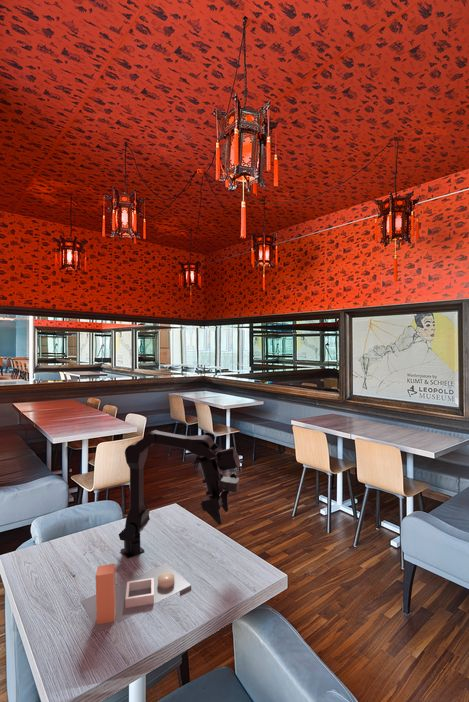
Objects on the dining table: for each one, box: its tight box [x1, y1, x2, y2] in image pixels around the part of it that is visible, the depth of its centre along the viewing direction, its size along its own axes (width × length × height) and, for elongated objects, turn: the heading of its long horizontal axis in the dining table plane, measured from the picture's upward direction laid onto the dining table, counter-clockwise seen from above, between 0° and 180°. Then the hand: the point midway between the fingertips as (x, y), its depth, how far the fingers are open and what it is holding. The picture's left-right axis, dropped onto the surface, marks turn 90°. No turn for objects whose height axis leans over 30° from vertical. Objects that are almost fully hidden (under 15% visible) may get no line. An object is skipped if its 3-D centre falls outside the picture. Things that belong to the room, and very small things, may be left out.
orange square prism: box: [95, 563, 116, 624], centre depth 100 cm, size 4×4×13 cm
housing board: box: [80, 562, 192, 633], centre depth 110 cm, size 15×28×4 cm, turn 130°
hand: (223, 517), depth 126 cm, fingers open, 9 cm apart
